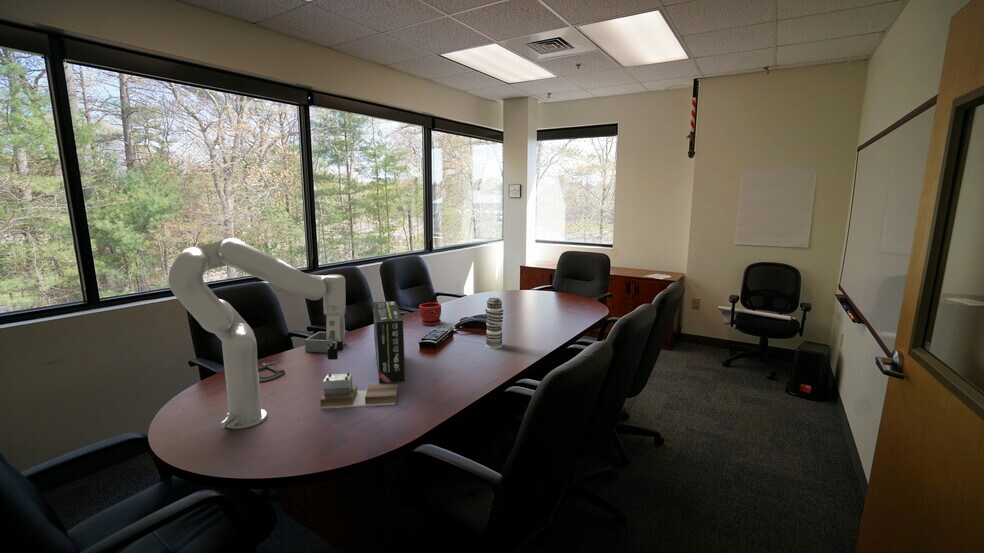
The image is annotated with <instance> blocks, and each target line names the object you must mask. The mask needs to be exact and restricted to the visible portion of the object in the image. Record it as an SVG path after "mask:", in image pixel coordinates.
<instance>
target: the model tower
mask: <svg viewBox="0 0 984 553" xmlns="http://www.w3.org/2000/svg"><path fill="white" fill-rule="evenodd" d="M486 304H487V305H486V306H487V307H486V308H485V310H484V311H485V318H486V319H485V324H486V332H485V334H486V336H485V337H486V338H485V347H486V348H488V349H495V350H496V349H500V348H502V347H503V329H502V328H503V327H502V326H503V318H504V317H503V315H504V313H503V312H504V310H503V307H502V306H503V301H502V300H501V299H500V298H499V297H489V298H488V300H486Z"/></svg>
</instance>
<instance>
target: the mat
mask: <svg viewBox="0 0 984 553" xmlns="http://www.w3.org/2000/svg"><path fill="white" fill-rule="evenodd" d="M366 393H367V390H357V394H356V396H355V399H354V402H353V405H337V406H321V405H320V409H321V410H324V409H339V408H356V407H357V408H359V407H373V406H374V407H377V406H378V407H379V406H393V405H396V403H397V401H396V402H393V403H375V404H365V396H366Z"/></svg>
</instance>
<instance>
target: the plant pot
mask: <svg viewBox="0 0 984 553" xmlns="http://www.w3.org/2000/svg"><path fill="white" fill-rule="evenodd" d="M418 310H419V316H420V318H421V324H423V325H424V326H429V327H430V326H436V325H439V324H440V323H441V322H442V320H441V315H442V304H441V303H440V302H426V303H422V304H419V306H418Z"/></svg>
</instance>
